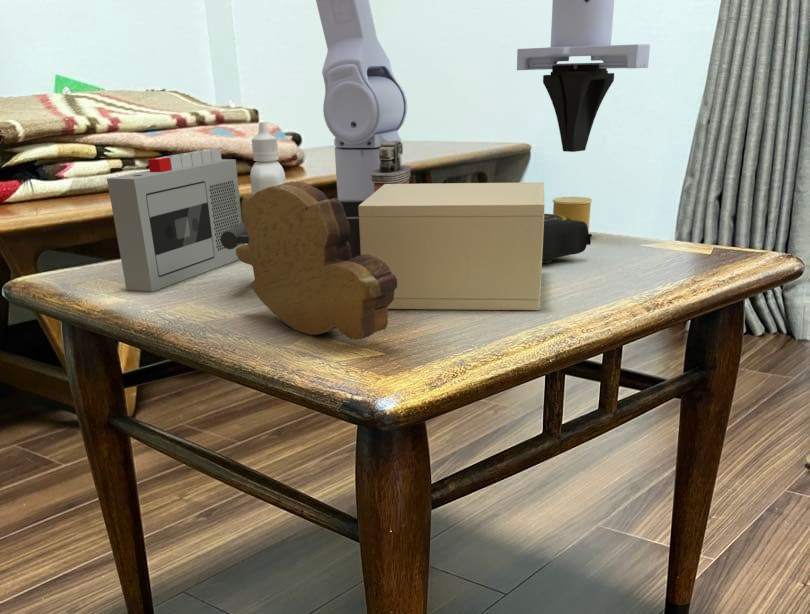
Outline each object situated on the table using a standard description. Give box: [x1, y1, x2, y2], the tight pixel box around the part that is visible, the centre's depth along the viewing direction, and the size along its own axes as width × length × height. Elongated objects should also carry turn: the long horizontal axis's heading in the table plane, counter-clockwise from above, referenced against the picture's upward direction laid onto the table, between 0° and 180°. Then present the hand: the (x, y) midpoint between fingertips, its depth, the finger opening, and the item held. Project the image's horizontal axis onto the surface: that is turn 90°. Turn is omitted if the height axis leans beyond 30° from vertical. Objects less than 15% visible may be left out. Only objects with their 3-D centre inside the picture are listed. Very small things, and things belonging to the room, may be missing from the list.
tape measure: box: [542, 213, 593, 264], centre depth 82 cm, size 7×7×4 cm
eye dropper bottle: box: [249, 121, 287, 194], centre depth 87 cm, size 4×6×12 cm
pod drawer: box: [221, 200, 365, 258], centre depth 72 cm, size 17×11×6 cm
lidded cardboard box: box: [358, 182, 546, 311], centre depth 71 cm, size 14×13×8 cm
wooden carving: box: [236, 181, 397, 340], centre depth 61 cm, size 16×5×10 cm, turn 44°
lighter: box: [371, 140, 412, 193], centre depth 87 cm, size 8×3×10 cm, turn 168°
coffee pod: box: [552, 196, 593, 234], centre depth 92 cm, size 4×4×4 cm
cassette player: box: [106, 148, 245, 293], centre depth 80 cm, size 16×3×10 cm, turn 158°
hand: (574, 151), depth 89 cm, fingers closed
